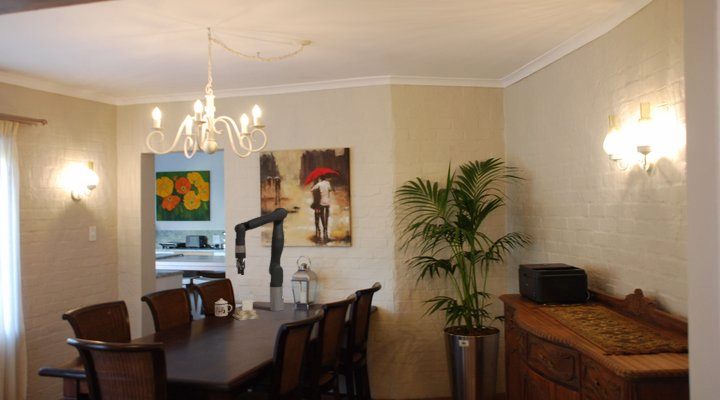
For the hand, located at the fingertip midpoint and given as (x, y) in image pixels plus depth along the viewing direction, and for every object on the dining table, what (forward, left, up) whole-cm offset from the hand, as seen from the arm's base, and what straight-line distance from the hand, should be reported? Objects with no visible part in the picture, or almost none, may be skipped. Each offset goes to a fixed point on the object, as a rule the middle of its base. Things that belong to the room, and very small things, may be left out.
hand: (240, 274), depth 403 cm
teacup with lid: (+13, +2, -28) cm, 31 cm away
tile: (+1, +18, -26) cm, 32 cm away
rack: (+1, +18, -28) cm, 33 cm away
